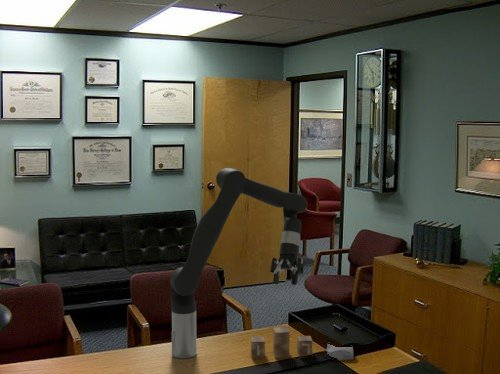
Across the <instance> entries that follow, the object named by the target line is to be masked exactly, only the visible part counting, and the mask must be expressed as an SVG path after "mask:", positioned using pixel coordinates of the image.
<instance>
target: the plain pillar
mask: <svg viewBox="0 0 500 374" xmlns="http://www.w3.org/2000/svg"><path fill="white" fill-rule="evenodd" d="M290 334H291V333H290V329H289V327H288V326H287V327H286V326H285V327H282V326H281V327H279V326H277V327H273V335H272V336H273V338H272V340H273V343H272V344H273V349H272V350H273V353H272V354H273V356H274V359H289V358H290Z"/></svg>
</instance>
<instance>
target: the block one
mask: <svg viewBox="0 0 500 374" xmlns="http://www.w3.org/2000/svg"><path fill="white" fill-rule="evenodd" d="M250 355H251V356H250V357H251V359H266V342H265V336H251V337H250Z"/></svg>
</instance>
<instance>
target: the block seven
mask: <svg viewBox="0 0 500 374" xmlns="http://www.w3.org/2000/svg"><path fill="white" fill-rule="evenodd" d="M296 338H297V340H296V341H297V342H296V343H297V345H296V348H297V349H296V351H297V352H298V353H297V352H296V353H297V355H299V356H305V355H312V356H313V339H312V336H311V335H297V337H296ZM299 356H298V357H299Z"/></svg>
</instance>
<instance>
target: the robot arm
mask: <svg viewBox="0 0 500 374" xmlns="http://www.w3.org/2000/svg"><path fill="white" fill-rule="evenodd" d="M215 181H216V182H215V183H216V184H217V187H218V188H220V191H219V193H218V195H217V198H216V199H215V201H214V203H213V204H212V205H211V206H210V208H208V210H207V211H206V212H204V214H203V215H202V216H201V217H200V219H199V221H198V223H197V226H196V228H195V230H194V232H193V235H192V240H191V243H190V247H189V253H188V255H187V259H186V261H185V262H184V264H183V266H181V267H177V268H175V269H174V270H173V272H172V273H171V274H170V277H169V278H170V279H169V287H170V288H169V289H170V291H169V293H170V295H169V296H170V304H171V305H170V306H171V357H172V358H176V359H190V358H193V357H195V356H197V352H198V351H197V348H198V347H197V301H196V298H195V291H196V290H197V288H198V286H199V283H200V280H201V276H202V274H203V271H204V269H205V266H206V264H207V262H208V260H209V258H210V256H211V254H212V252H213V250H214V247H215V245H216V244H217V242H218V240H219V237H220V235H221V233H222V231H223V229H224V226H225V224H226V223H227V220H228V218H229V215H230V214H231V212H232V209H233V208H234V206H235V204H236V202H237V200H238V199H239V197H240V196H241V194H243V195H245V196H249V197H251V198H253V199H255V200H258V201H260V202H262V203H265V204H267V205H269V206H272V207H276V208H278V209H279V208H282V213H283V222H284V223H283V227H282V228H283V229H282V235H281V238H280V245H279V246H280V247H279V252H278V253H279V257H278V258H276V257H272V260H271V265H270V270H269V271H270V272H269V273H272V274H273V280H272V282H273V285H279V280H280V274H281V273H282V272H284V270H286V271H287V270H290V271H291V272H292V273H291V274H292V276H291V282H290V283H291V284H290V285H292V286H296V285H297V284H298V278H299V276H300V275H303V273H304V267H305V266H304V265H305V264H304V263H305V260H304V259H303V258H301V257H299V250H300V245H301V231H302V221H301V219H299V218H298V217H297V216H298V215H297V214H301V213H303V212H305V211H306V210H307V209H308V205H309V204H308V201H307V198H306V197H304V196H303V195H301V194H298V193H294V192H287V191H283V190H281V189H279V188H276V187H273V186H271V185H268V184H264V183H261V182H259V181H255V180H252V179H250V178H248V177H246V176H245V174H244V172H242V171H241V170H238V169H235V168H231V167H225V168H224V167H223V168H222V169H221V170H219V171H218V172H217V174H216V178H215ZM298 257H299V258H298Z"/></svg>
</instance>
